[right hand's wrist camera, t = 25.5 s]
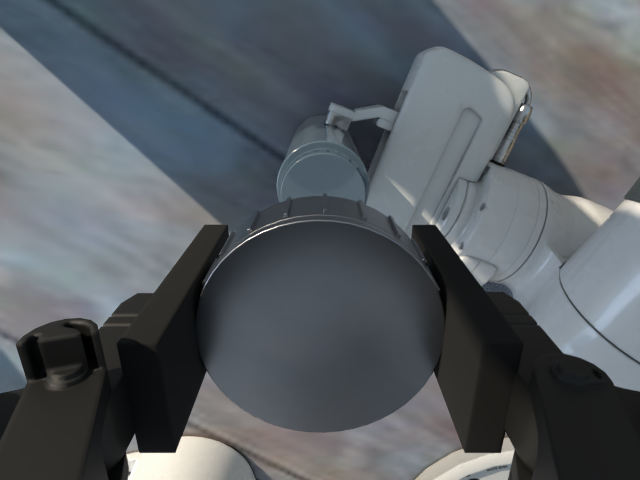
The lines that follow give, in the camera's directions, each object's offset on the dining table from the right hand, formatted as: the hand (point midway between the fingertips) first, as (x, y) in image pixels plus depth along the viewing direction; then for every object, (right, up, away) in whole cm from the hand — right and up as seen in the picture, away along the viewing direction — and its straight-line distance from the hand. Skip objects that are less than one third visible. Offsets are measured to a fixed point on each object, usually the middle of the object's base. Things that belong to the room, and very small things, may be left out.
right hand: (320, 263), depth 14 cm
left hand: (-1, +7, +18) cm, 19 cm away
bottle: (0, +9, +24) cm, 26 cm away
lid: (0, -1, -4) cm, 4 cm away
